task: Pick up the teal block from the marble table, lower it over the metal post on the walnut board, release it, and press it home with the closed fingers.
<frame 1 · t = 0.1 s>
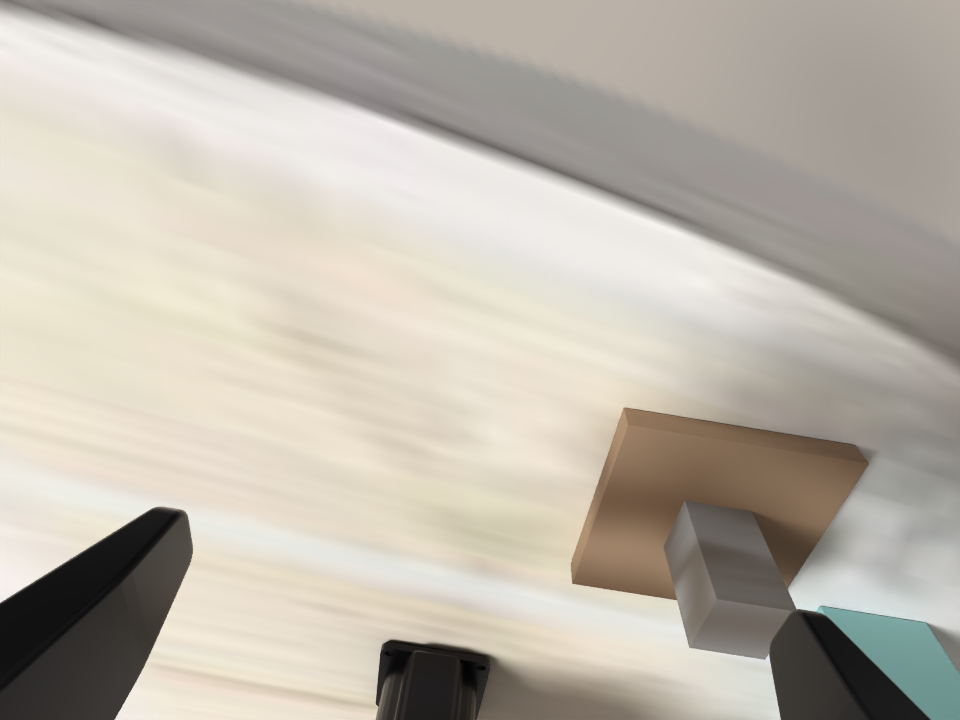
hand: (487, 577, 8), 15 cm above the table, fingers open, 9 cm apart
post board: (699, 510, 27), on the table
teal block: (847, 646, 31), on the table
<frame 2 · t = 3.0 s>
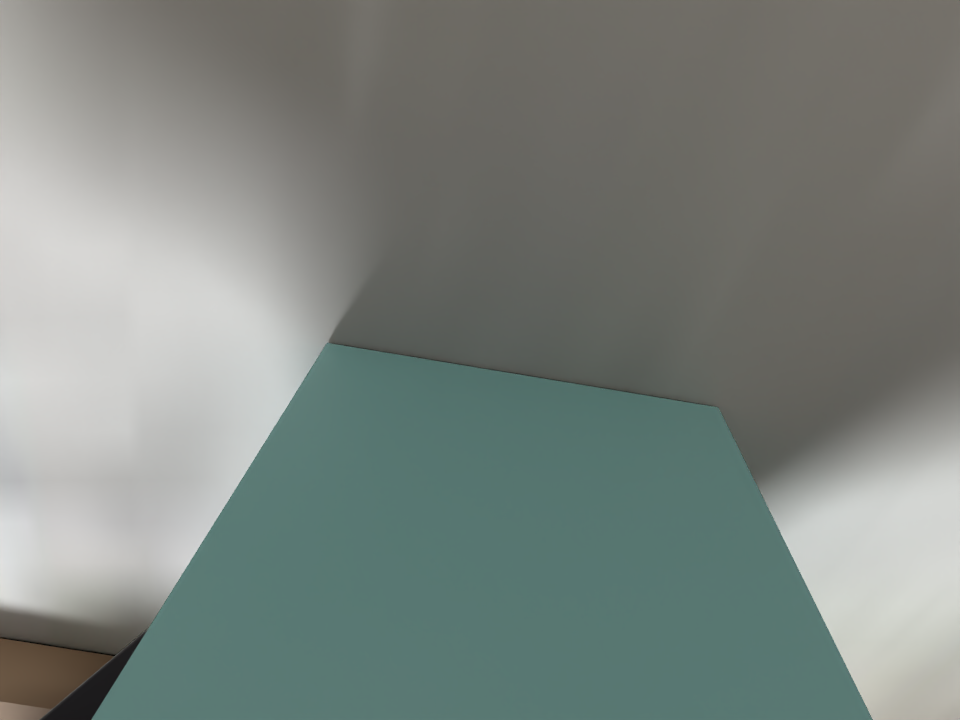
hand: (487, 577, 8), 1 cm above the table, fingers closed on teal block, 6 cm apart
teal block: (492, 515, 10), on the table, touching gripper
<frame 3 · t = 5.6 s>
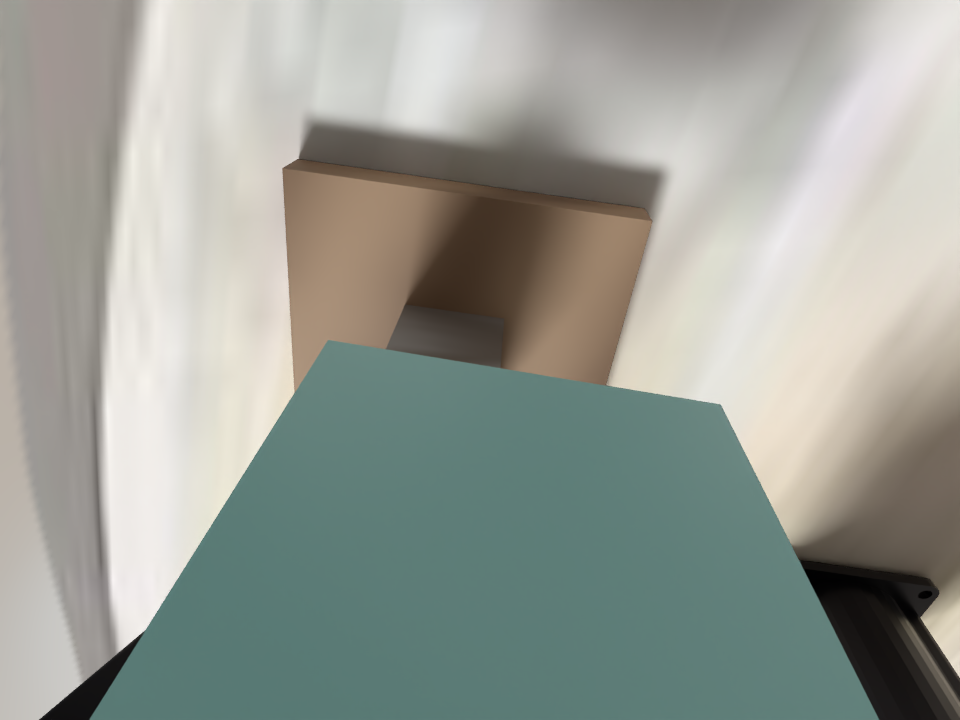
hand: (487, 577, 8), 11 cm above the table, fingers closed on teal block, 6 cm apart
post board: (454, 336, 19), on the table
teal block: (493, 513, 9), point 10 cm above the table, touching gripper
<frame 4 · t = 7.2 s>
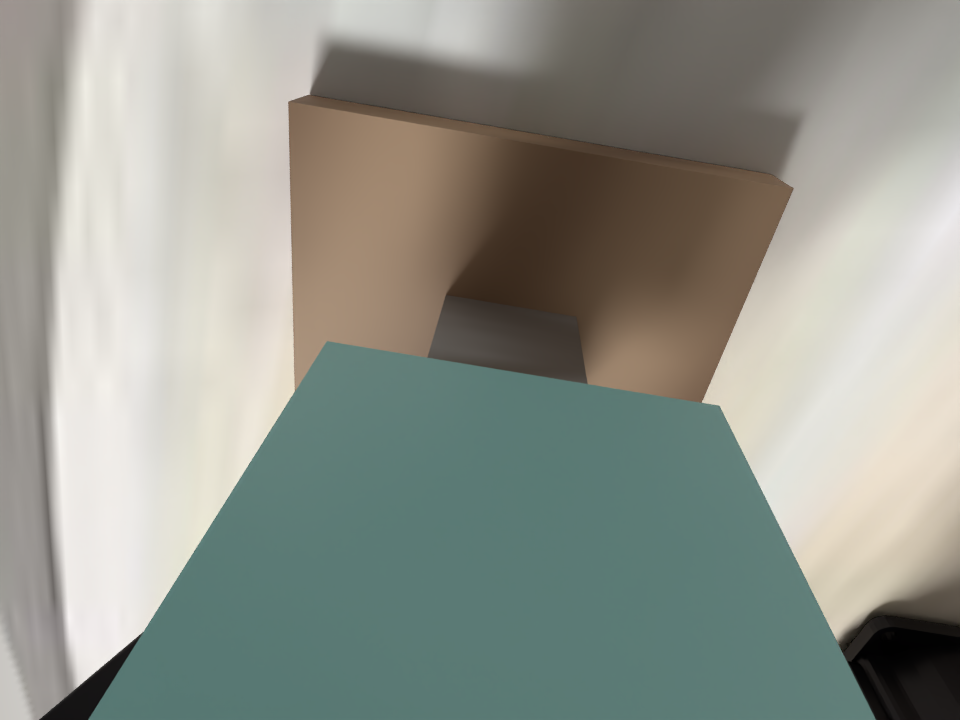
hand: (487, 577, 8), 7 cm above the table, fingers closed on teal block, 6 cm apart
post board: (502, 337, 15), on the table
teal block: (492, 514, 9), point 6 cm above the table, touching gripper
when the fingers open (3 cm above the table, at t = 8.5 s): teal block drops 1 cm, resting on post board.
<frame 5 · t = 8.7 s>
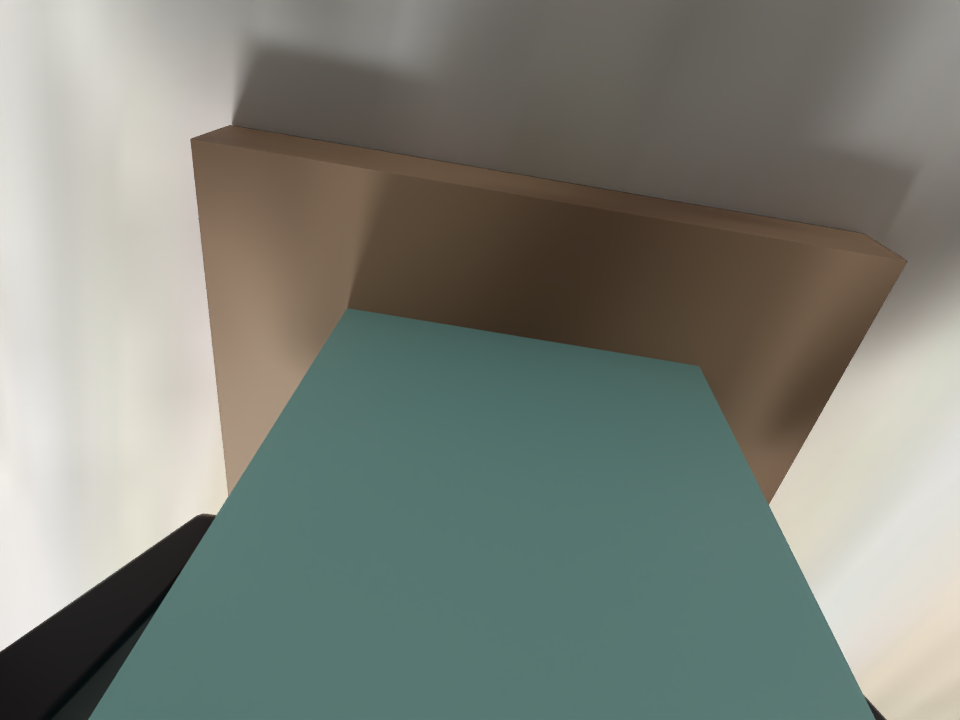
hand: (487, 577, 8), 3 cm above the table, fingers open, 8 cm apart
post board: (496, 431, 11), on the table
teal block: (495, 470, 10), point 1 cm above the table, touching post board
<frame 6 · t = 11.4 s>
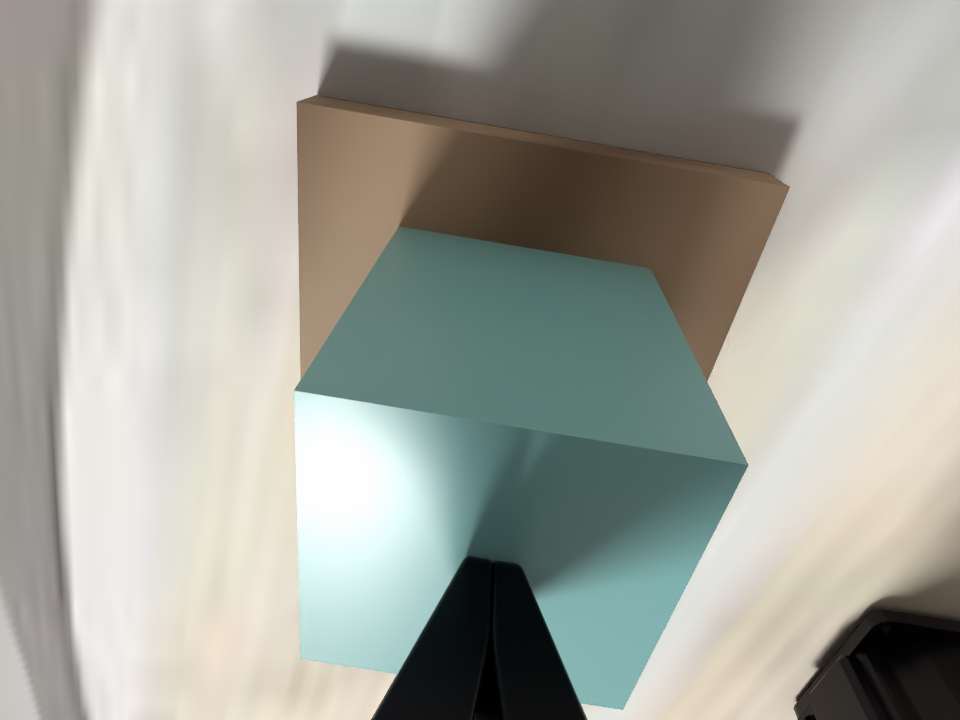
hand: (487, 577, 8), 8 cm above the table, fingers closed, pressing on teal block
post board: (504, 334, 15), on the table
teal block: (503, 356, 14), point 1 cm above the table, touching gripper, post board
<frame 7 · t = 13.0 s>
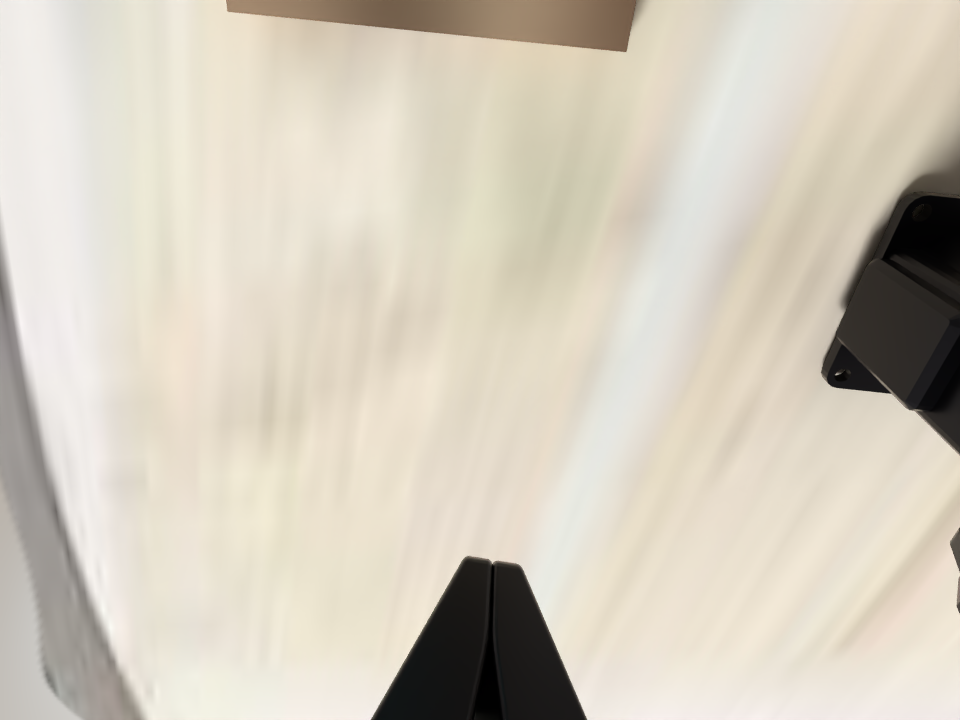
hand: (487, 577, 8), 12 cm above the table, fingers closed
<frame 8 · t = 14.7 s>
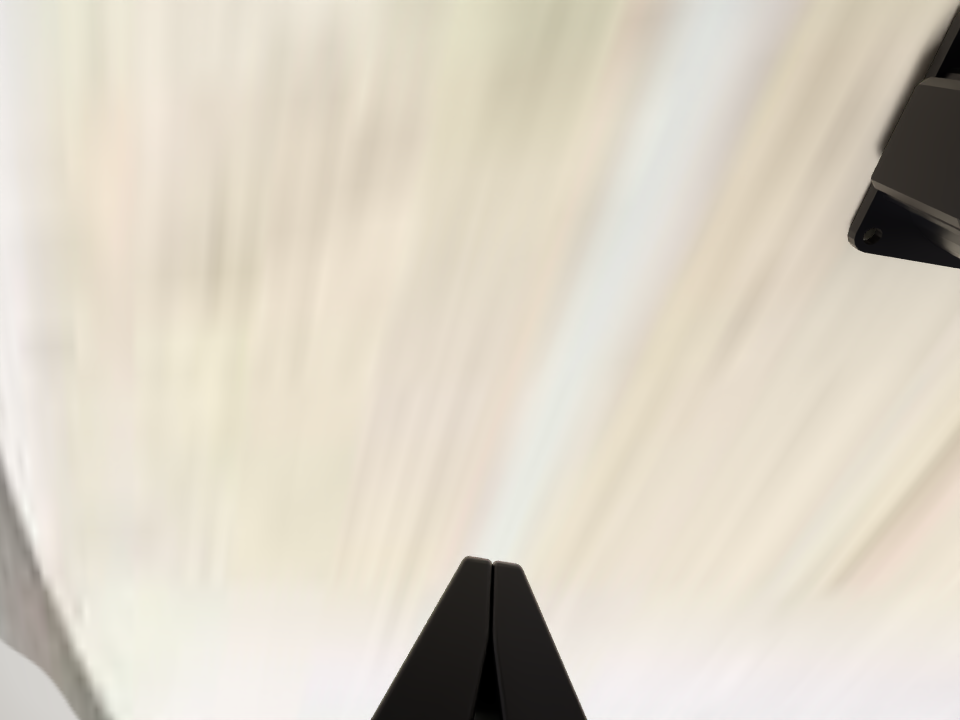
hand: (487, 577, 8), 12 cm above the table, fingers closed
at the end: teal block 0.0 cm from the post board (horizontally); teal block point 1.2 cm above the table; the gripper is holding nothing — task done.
